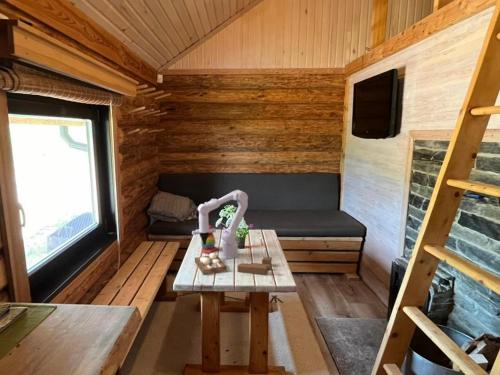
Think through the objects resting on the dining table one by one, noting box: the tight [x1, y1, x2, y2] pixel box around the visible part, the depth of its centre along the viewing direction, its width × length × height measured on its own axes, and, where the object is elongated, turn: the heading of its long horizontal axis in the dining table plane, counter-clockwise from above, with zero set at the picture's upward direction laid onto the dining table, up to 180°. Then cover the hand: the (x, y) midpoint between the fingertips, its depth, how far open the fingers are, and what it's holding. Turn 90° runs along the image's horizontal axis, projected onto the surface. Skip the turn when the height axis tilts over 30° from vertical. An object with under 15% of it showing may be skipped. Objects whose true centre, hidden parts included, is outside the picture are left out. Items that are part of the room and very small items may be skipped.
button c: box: [209, 252, 217, 260], centre depth 199 cm, size 4×4×4 cm
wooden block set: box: [237, 256, 273, 276], centre depth 193 cm, size 17×6×18 cm
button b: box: [203, 258, 210, 266], centre depth 191 cm, size 4×4×4 cm
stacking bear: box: [200, 224, 219, 255], centre depth 219 cm, size 11×10×18 cm
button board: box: [194, 254, 228, 276], centre depth 195 cm, size 14×20×4 cm
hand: (204, 244), depth 203 cm, fingers closed
